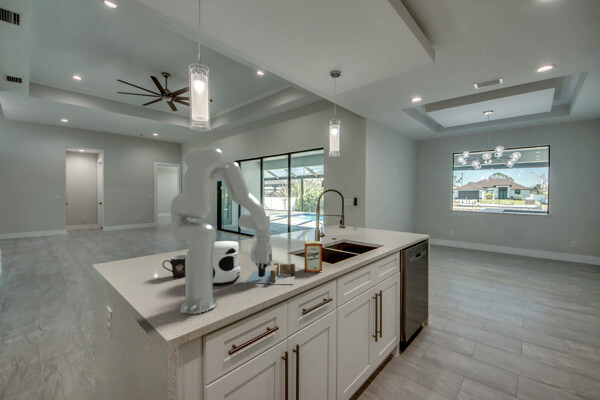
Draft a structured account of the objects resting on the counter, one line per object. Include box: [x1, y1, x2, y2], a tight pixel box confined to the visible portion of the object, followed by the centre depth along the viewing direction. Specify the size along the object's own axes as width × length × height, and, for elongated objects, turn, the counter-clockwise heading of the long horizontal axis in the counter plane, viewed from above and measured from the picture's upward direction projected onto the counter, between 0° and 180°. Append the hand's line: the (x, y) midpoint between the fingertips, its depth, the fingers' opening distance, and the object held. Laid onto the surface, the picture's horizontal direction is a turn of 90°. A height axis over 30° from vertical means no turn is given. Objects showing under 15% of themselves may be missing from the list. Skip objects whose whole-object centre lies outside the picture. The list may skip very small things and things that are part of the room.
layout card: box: [244, 270, 297, 284], centre depth 125 cm, size 18×23×1 cm
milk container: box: [213, 240, 242, 285], centre depth 120 cm, size 17×17×18 cm
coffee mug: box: [161, 254, 187, 280], centre depth 126 cm, size 12×9×10 cm
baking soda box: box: [304, 240, 323, 273], centre depth 137 cm, size 10×6×16 cm
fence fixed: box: [273, 262, 296, 276], centre depth 129 cm, size 11×2×6 cm, turn 86°
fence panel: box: [270, 265, 277, 283], centre depth 121 cm, size 11×2×5 cm, turn 178°
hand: (261, 276), depth 121 cm, fingers closed
